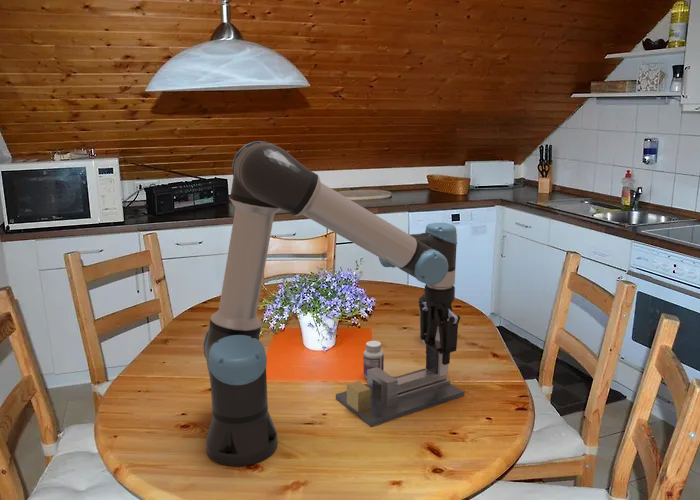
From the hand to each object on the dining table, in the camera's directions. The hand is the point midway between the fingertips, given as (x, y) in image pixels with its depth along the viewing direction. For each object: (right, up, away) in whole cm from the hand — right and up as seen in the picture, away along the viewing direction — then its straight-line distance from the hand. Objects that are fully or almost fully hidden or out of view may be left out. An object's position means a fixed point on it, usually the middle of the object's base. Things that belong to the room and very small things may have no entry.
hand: (437, 371), depth 159 cm
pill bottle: (-16, -3, +7) cm, 18 cm away
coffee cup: (+3, +3, +30) cm, 31 cm away
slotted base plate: (-10, -5, -5) cm, 12 cm away
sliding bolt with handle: (-5, -3, -2) cm, 7 cm away
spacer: (-19, -3, -11) cm, 22 cm away
